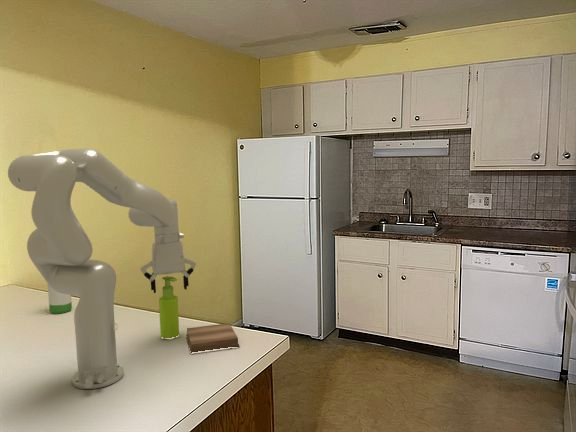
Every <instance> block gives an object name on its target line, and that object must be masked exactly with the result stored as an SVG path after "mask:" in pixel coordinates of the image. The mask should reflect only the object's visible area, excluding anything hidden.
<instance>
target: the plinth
mask: <svg viewBox="0 0 576 432" xmlns="http://www.w3.org/2000/svg"><path fill="white" fill-rule="evenodd" d="M185 335H186V336H187V338H186V341H187V340H188V342H187V345H188V344H189V346H188V349H189V348H190V349H189V352H190V351H191V353H192V352H198V351H205V350H213V349H220V348H228V347H239V348H240V344H239V337H238V336H237V334H236V332H235V330H234V329H233V327H232V325H231V323H230V322H227V323H226V322H225V323H219V324H210V325H203V326H193V327H187V328H186V334H185ZM191 353H190V354H191Z"/></svg>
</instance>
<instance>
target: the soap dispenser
mask: <svg viewBox="0 0 576 432" xmlns="http://www.w3.org/2000/svg"><path fill="white" fill-rule="evenodd" d="M162 280H163V281H164V286H163V287H162V296H160V297H159V298H158V309H159V326H160V327H159V328H160V329H159V330H160V331H159V333H160V338H161V337H163V338H172V337H176V336H178V335H179V336H180V321H179V320H180V319H179V300H178V299H179V298H178V295H175V294H174V286H173V285H171V283H174V282H177V281H178V278H176V277H173V276H170V275H169V276H168V275H167V276H163V277H162Z"/></svg>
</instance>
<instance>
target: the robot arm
mask: <svg viewBox="0 0 576 432" xmlns="http://www.w3.org/2000/svg"><path fill="white" fill-rule="evenodd" d="M7 178H8V180H9V182H10V183H11V184H12V185H13V186H14V187H15V188H17V190H20V191H24V192H35V194H34V197H33V201H32V204H31V211H30V213H31V220H32V222H33V224H34V226H35V228H36V229H34V230H33V231H32V232H31V233H30V235H29V237H28V239H27V242H26V250H27V254H28V257H29V259H30V261H31V262H32V263H33V265H34V267H36V269H37V271H38V272H39V273H40V274H41V276H42V277H43V279H44V280H45V281H46V283H47V285H48V284H49V285H50V286H51V287H52V288H53V289H54V290H55V291H57V292H59V293H63V294H68V295H71V296H76V297H79V300H78V302H77V305H76V307H75V310H74V314H73V316H74V317H73V319H74V320H73V321H74V331H75V333H74V334H75V347H76V348H75V349H76V360H77V362H76V363H77V372H76V373H75V374H74V375H72V377H71V383H72V385H73V387H76V388H77V389H81V390H83V389H84V390H92V389H94V390H96V389H100V388H103V387H106V386H107V387H108V386H110V385H112V384H114V383H116V382H118V381H120V380H121V379H122V377H124V373H125V371H124V370H125V369H124V367H123V366H121V365H120V364H118V358H117V356H118V355H117V341H116V340H117V339H116V331H115V309H114V308H115V307H114V306H115V303H114V301H115V291H116V285H117V274H116V270H115V269H114V267H113V266H112V265H110V264H109V263H107V261H103V260H98V259H91V257H92V256H93V246H92V245H93V244H92V242H91V240H90V238H89V236H88V235H87V233H86V231H85V229H84V228H83V226H82V224H81V223H80V221H79V219H78V217H77V216H76V215H75V212H74V211H73V208H72V204H71V199H72V194H73V191H74V188H75V185H76V183H83V184H85V185H86V186H87V187H89V188H90V189H92V190H93V191H94V192H96V193H97V194H99V196H101V197H102V198H103V199H105V200H106V201H107V202H109V203H111V204H114V205H117V206H120V207H124V208H129V210H128V219H129V221H130V222H131V223H132V224H134V225H135V226H138V227H148V228H149V227H153V232H154V233H153V234H154V242H153V243H152V245H151V261H149V262H147V263H146V264H144V265H142V266H141V267H140V271H141V272H142V274H143V276H144V277H145V278H146V279H148V280H149V281H150V290H151V291H153V294H156V293H157V287H156V277H157V276H160V275H169V274H170V275H171V274H178V273H181V274H182V275H183V276H182V278H183V279H182V280H183V282H182V283H183V289H184V290H185V291H186V290H188V287H189V286H190V285H189V277H190V275H191V274H192V273H193V272H194V270H195V268H196V266H197V263H196V261H194V260H191V259H189V258H186V257H185V253H184V247H183V246H184V245H183V243H182V240H181V239H183V238H184V237H185V236H184V233H181V232H180V231H179V230H180V229H179V214H178V213H179V211H178V203H177V200H174V199H170V198H169V199H168V198H167V197H166V196H165V195H164V194H163V193H161V192H159V191H158V190H156V189H154V188H152V187H151V186H149V185H146V184H143V183H142V182H140V181H137V180H135V179H132V178H130V177H129V176H128V175H127V174H125V172H123V171H122V170H121V169H119V167H117V166H116V165H115V164H114V163H113V162H112V161H110V160H109V159H108V158H107V157H106V156H105V155H104V154H102V153H101V152H99V151H98V150H96V149H93V148H73V149H71V148H70V149H69V148H68V149H61V150H55V151H47V152H41V153H40V152H39V153H33V154H25V155H21V156H19V157H15V159H13V160H12V162H10V163H9V166H8V169H7ZM186 264H188V265H190V266H189V268H188V269H187V270H186ZM149 268H152V273H151V274H150V273H149V272H148V271H147V270H148V269H149Z"/></svg>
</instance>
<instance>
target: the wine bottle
mask: <svg viewBox="0 0 576 432" xmlns="http://www.w3.org/2000/svg"><path fill="white" fill-rule="evenodd" d="M47 294H48V304H49V305H48V306H49V311H50V314H51V313H52V314H56V315H59V314H65V313H67V312H70V311H71V310H72V308H73V304H72V295H68V294H63V293H59V292H57V291H55V290H54V289H53V288H52V287H51V286H50V285H49V284H48V283H47Z"/></svg>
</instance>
